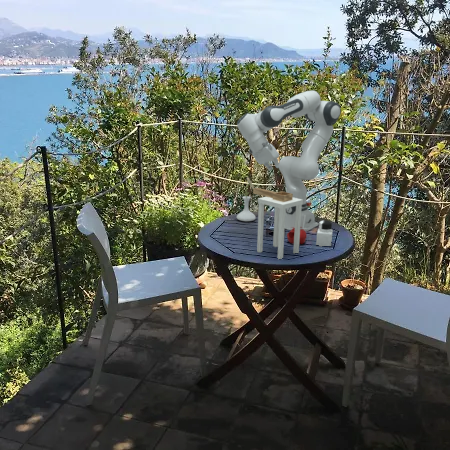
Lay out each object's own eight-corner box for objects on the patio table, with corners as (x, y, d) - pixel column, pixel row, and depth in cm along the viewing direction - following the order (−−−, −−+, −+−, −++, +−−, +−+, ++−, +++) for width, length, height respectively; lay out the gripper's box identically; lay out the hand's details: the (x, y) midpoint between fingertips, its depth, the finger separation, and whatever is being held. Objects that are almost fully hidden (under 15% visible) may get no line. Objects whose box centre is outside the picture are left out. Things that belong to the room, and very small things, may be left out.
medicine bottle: (331, 242, 229) (333, 220, 225) (330, 247, 222) (332, 224, 219) (317, 241, 231) (318, 219, 227) (316, 246, 224) (317, 222, 221)
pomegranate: (304, 239, 234) (305, 222, 231) (307, 246, 224) (308, 228, 221) (285, 239, 234) (286, 221, 231) (287, 245, 224) (288, 227, 222)
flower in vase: (254, 223, 260) (256, 180, 252) (235, 222, 261) (236, 179, 254) (256, 217, 272) (258, 176, 265) (238, 216, 274) (239, 175, 266)
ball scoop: (259, 192, 220) (259, 186, 220) (292, 199, 206) (292, 193, 206) (250, 194, 216) (250, 188, 215) (283, 202, 202) (283, 195, 201)
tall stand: (275, 245, 225) (277, 194, 217) (299, 253, 214) (303, 199, 207) (256, 251, 216) (258, 198, 208) (280, 260, 205) (283, 204, 198)
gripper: (272, 137, 214) (288, 162, 216) (256, 144, 233) (271, 167, 236) (262, 145, 212) (278, 169, 215) (247, 151, 232) (262, 174, 234)
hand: (274, 168), depth 225 cm, fingers open, 8 cm apart
